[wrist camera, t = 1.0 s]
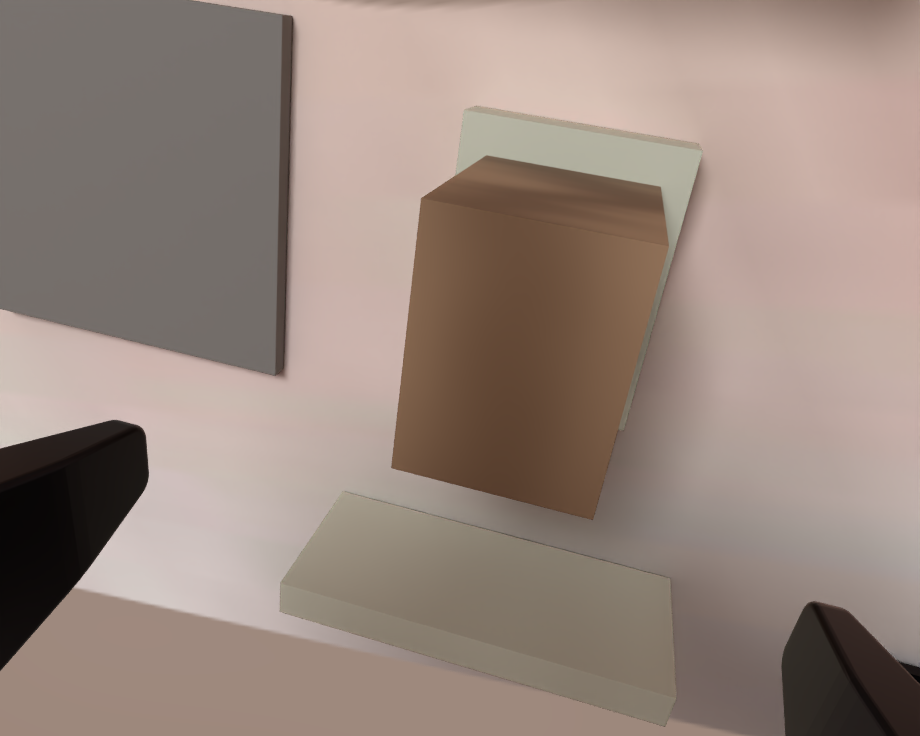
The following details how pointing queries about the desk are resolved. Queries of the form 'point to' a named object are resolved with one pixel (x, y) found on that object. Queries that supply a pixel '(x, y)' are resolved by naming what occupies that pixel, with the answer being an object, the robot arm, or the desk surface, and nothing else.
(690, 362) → the desk surface
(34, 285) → the rubber mat
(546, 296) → the walnut block
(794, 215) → the desk surface
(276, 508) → the desk surface
